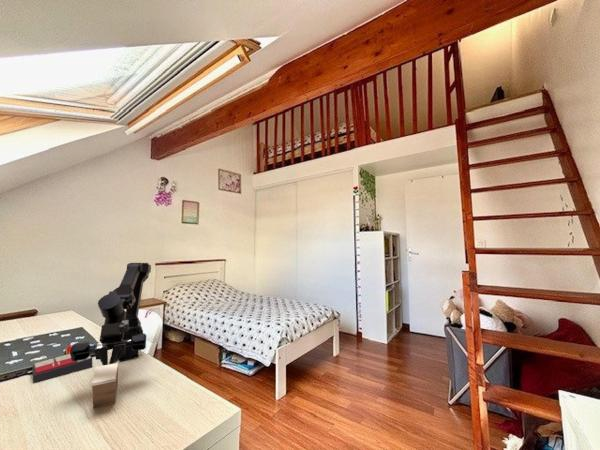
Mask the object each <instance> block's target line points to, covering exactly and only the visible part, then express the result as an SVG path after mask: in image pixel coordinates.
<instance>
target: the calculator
mask: <svg viewBox="0 0 600 450" xmlns="http://www.w3.org/2000/svg"><path fill="white" fill-rule="evenodd" d="M91 368H93V357H92V356H91V354H90V356H89V357H88V358H87V359H85V360H79V361H72V359H71V355H70V354H68V355H65V354H64V355H60V356H58V357H55V358H50V359H46V360H43V361H39V362H35V363H34V364H33V365H32V371H31V372H32V380H33V384H38V383H41V382H45V381H48V380H52V379H55V378H59V377H62V376H63V377H64V376H66V375H69V374H72V373H75V372H80V371H84V370H89V369H91Z"/></svg>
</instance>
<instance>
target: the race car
mask: <svg viewBox="0 0 600 450" xmlns="http://www.w3.org/2000/svg"><path fill="white" fill-rule="evenodd" d="M73 345H74V344H70V345H67V346H66V347H65V349H64V355H68V354H70V350H71V347H72V346H73Z"/></svg>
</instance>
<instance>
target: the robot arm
mask: <svg viewBox="0 0 600 450" xmlns="http://www.w3.org/2000/svg"><path fill="white" fill-rule="evenodd" d="M151 271H152V265H151V264H149V262H129V263H127V264H126V270H125V273H124V275H123V278H122V280H121V282H120V283H119V286H118V287H116V288H115V289H113V290H112V291H109V292H108V294H106V295H104V296H102V297H101V298H100V299H99V300H98V301H97V306H98V308H99V310H100V313H101V316H102V317H103V318H104V323H103V324H102V325H101V327H100V328H101V329H100V336H99V342H100V343H96V344H94V345H91V343H90V341H82V342H78V343H74V344H72V345H73V346H72V347H71V350H70V355H71V359H72V361H79V360H85V359H87V358H88V357H89V356H90V355H91V353H94V356H95V360H97V361H100V363H101V364H102V365H101V366H104V365H109V364H114V363H118V361H119V362H123V361H124V362H125V361H128V360H133V359H137V358H139V357H140V355H139V351H142V350H145V349H146V347H147V334H146V333H144V330H143V327H142V322H141V320H140V319H139V310H140V304H141V300H142V299H141V298H142V293H143V287H144V283H145V282H146V281H147V279H148V278H149V275H150V273H151ZM110 350H111V354H110V359H109V354H108V353H109V351H110ZM108 360H109V361H108Z"/></svg>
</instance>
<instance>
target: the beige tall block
mask: <svg viewBox="0 0 600 450" xmlns="http://www.w3.org/2000/svg"><path fill="white" fill-rule="evenodd" d="M118 372H119V363H118V362H116V363H114V364H109V363H108V365H104V366H103V365H100V366H95V370H94V374H93V378H92V383H91V385H92V386H91V387H92V390H91V391H92V408H93V409H95V408H98V407H102V406H107V405H110V404H115V403H116V399H117V393H118V383H119V381H118V379H119V378H118V377H119V376H118V375H119V373H118Z"/></svg>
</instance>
